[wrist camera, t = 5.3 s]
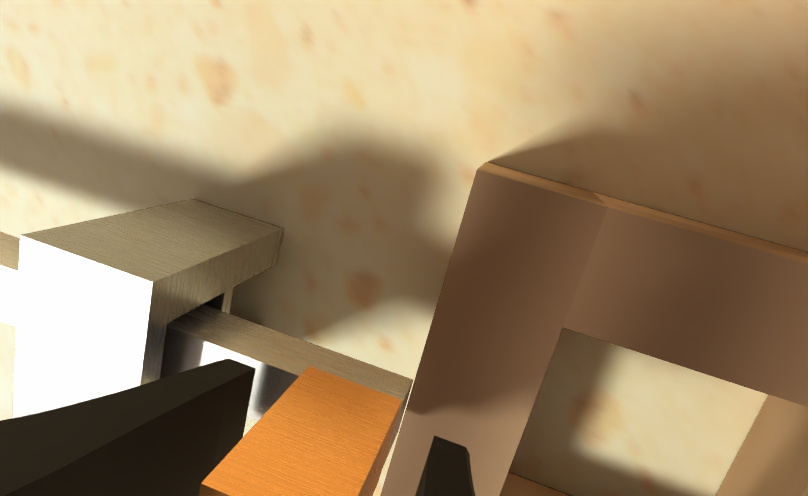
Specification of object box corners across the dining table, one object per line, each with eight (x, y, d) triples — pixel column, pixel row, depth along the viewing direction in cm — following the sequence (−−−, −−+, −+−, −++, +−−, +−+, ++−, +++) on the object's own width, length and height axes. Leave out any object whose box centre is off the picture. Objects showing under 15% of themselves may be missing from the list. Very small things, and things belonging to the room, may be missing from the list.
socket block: (971, 298, 11) (1090, 343, 9) (752, 653, 14) (796, 758, 12) (486, 162, 13) (477, 169, 11) (383, 504, 16) (358, 570, 14)
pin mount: (283, 228, 15) (152, 282, 10) (258, 358, 16) (129, 468, 11) (191, 198, 15) (20, 235, 10) (173, 327, 16) (12, 418, 11)
